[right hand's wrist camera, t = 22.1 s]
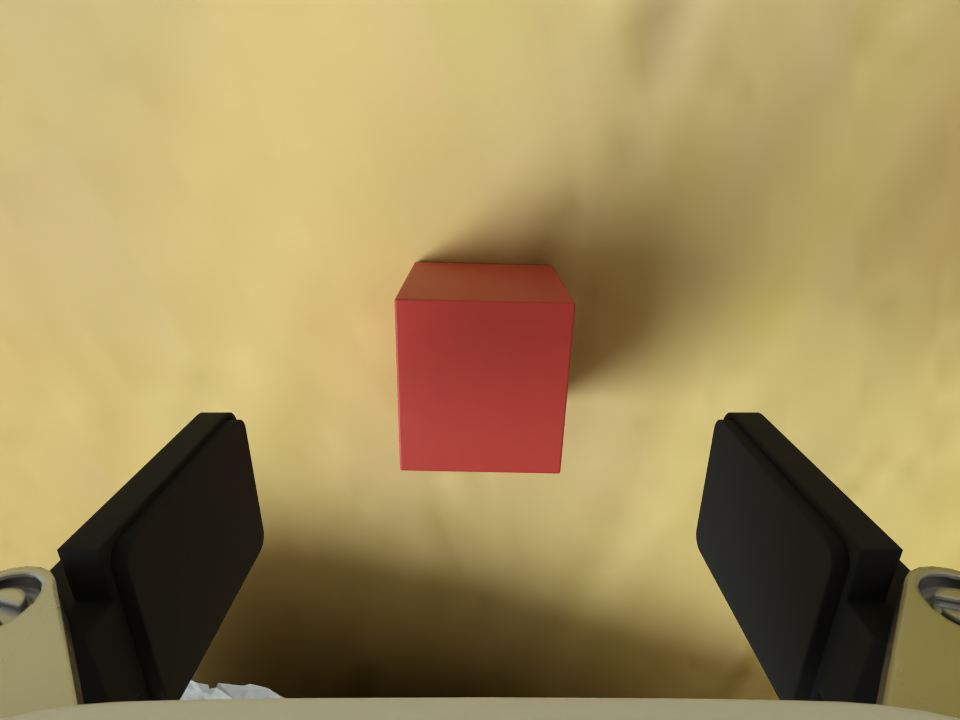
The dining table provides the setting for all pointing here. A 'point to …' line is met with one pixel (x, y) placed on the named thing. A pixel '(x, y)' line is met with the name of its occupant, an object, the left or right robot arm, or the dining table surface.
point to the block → (482, 367)
